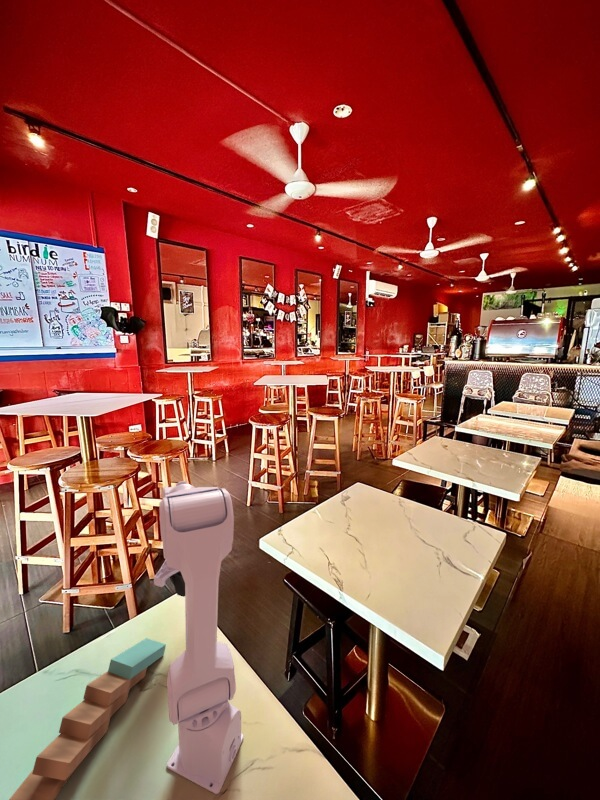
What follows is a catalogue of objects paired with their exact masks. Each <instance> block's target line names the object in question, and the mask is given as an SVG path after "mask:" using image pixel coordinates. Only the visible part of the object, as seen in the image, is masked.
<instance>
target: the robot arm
mask: <svg viewBox="0 0 600 800" xmlns="http://www.w3.org/2000/svg"><path fill="white" fill-rule="evenodd" d="M158 503H159V504H158V506H159V508H158V511H159V525H160V526H159V528H160V536H161V537H160V538H161V542H162V550H163V552H162V553H163V558H164V559H165V560H164V562H163V563H162V564H161V567H160V568H159V570H158V572H157V573H156V574H155V575H154V576H153V585H154V586H157V587H159V588H163V587H164V586H165V585H166V581H167V580H168V579H170V581H171V582H172V585H173V586H174V589H175V592H176V593H175V594H176V595H177V596H180V597H183V598H185V599H184V600H185V601H184V603H185V604H184V606H185V611H184V613H185V616H184V617H185V650H184V651H183V652H182V653H180V654H179V656H177V657H176V658H175V659H174V660H173V661H172V662H171V663H170V664H169V669H168V671H167V678H166V687H167V688H166V689H167V704H168V717H169V722H170V723H171V724H172V725H173V726H175V725H178V726H177V728H178V730H177V731H178V744H177V745H176V747H175V749H174V750H173V752H172V754H171V756H170V757H169V759H168V760H167V763H166V767H167V769H168V770H170V771H172V772H174V773H176V774H178V776H179V775H180V776H181V777H183V778H185V779H186V780H189V781H191V782H192V783H195V784H196V785H198V786H200V787H201V788H204V789H205V790H207V791H209V792H211V793H213V794H214V795H218V794H220V792H221V790H222V787H223V785H224V783H225V780H226V779H227V776H228V774H229V772H230V769H231V767H232V765H233V762H234V760H235V758H236V756H237V753H238V751H239V749H240V747H241V744H242V742H243V741H244V734H243V732H242V711H241V710H240V709H239V708H237V707H236V706H234V705H232V703H231V702H230V701H232V700H233V699H234V697H235V695H236V691H237V686H236V675H235V664H234V659H233V655H232V652H231V650H230V648H229V646H228V644H227V643H225V642H221V641H218V616H219V615H218V614H219V613H218V610H219V609H218V608H219V607H218V606H219V581H220V574H221V567H222V561H223V560H224V559H225V558H226V557H227V556H228V555H229V554H230V552H232V550H233V549H232V548H233V542H234V533H235V531H234V529H235V528H234V527H235V525H234V524H235V515H234V507H233V501H232V497H231V495H230V492H229V491H228V490H227V489H226V488H225V487H224V488H220V487H217V486H198V487H195V486H194V485H191V484H190V483H187V481H186V480H183V481H178V482H177V483H175V486H174V485H173V486H168V487H166V486H164V487H163V489H162V499H161V500H160V501H159V502H158ZM211 785H212V786H211Z"/></svg>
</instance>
